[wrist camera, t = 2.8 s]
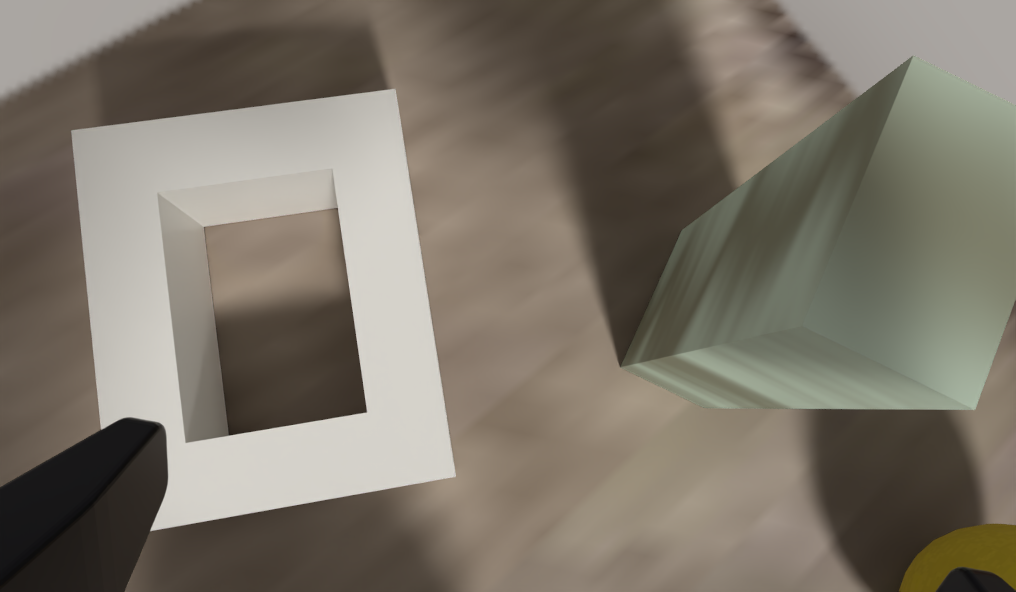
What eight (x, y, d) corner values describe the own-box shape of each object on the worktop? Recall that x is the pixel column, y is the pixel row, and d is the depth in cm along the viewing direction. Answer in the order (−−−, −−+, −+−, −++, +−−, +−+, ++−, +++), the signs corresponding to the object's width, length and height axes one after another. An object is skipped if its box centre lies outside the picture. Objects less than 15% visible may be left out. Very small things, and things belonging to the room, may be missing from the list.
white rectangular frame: (454, 465, 24) (455, 476, 20) (169, 515, 23) (112, 538, 19) (403, 137, 25) (395, 88, 22) (131, 174, 25) (71, 130, 21)
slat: (704, 408, 25) (975, 409, 12) (620, 367, 25) (801, 326, 12) (763, 269, 26) (1076, 134, 13) (681, 230, 26) (913, 55, 13)
